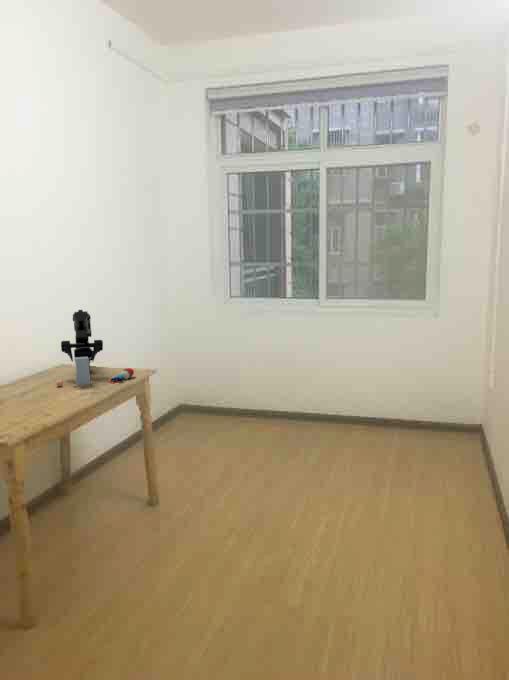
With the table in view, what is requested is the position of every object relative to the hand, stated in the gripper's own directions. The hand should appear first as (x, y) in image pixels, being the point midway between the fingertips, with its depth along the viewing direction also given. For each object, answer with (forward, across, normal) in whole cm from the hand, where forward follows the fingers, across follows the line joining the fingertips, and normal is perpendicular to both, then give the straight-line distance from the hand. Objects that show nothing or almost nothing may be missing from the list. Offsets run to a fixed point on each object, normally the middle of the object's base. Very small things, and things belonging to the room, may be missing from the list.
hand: (82, 360), depth 257 cm
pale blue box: (+12, 0, 0) cm, 12 cm away
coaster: (+13, 0, +1) cm, 13 cm away
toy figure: (+9, +18, +4) cm, 20 cm away
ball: (+12, -10, +1) cm, 16 cm away
